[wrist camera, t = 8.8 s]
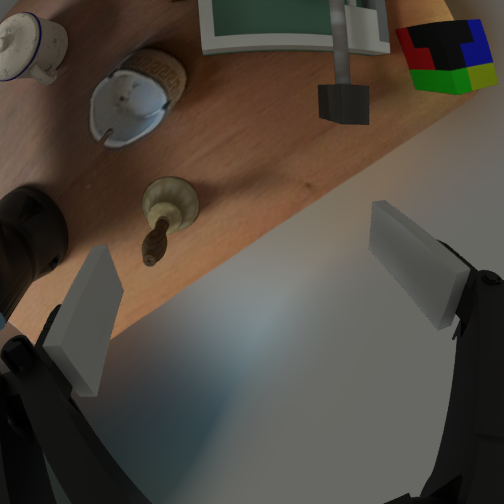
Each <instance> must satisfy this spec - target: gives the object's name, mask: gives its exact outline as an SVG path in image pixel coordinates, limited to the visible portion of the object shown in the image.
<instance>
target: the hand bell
mask: <svg viewBox="0 0 504 504" xmlns="http://www.w3.org/2000/svg"><path fill="white" fill-rule="evenodd" d="M142 208H143V212H144V215H145V217H146V218H147V220H148V221H149V224H150V226H151V227H152V229H153V230H152V231H151V232H150V233H149V234H148V235H147V236H146V237H145V239H144V241H143V244H142V256H143V262H144V264H145V265H146V266H154V265H155V263H156V262H158V261H159V260H160V259H161V258H162V257H163V256H164V254H165V251H166V248H167V237H166V234H172V233H174V232H176V231H180V230H183V229H185V228H187V227H188V226H190V225H191V224H192V223H193V222H194V220H195V219H196V217H197V215H198V211H199V199H198V196H197V193H196V191H195V190H194V189H193V187H192V186H191V185H190V184H189V183H187V182H186V181H184V180H182V179H180V178H176V177H164V178H160V179H158V180H156V181H154V182H153V183H151V184H150V185H149V186H148V188H147V189H146V191H145V193H144V195H143V199H142Z"/></svg>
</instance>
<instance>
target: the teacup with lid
mask: <svg viewBox="0 0 504 504" xmlns="http://www.w3.org/2000/svg"><path fill="white" fill-rule="evenodd" d="M67 47H68V36H67V32H66V30H65V29H64V27H63V26H61V25H60V24H58V23H55V22H52V21H49V20H46V19H43V18H39V17H36V16H35V15H34V14H32V13H29V12H22V13H18V14H15V15H13V16H11V17H9V18H8V19H6V20H5V21H4V22H3V23H2V24H1V25H0V81H10V80H13V79H19V78H35V79H36V80H37V81H38V82H40V83H41V84H44V85H50V84H52V83H53V82H54V81H55V80H56V78H57V73H56V70H55V69H56V68H57V67H58V66H59V64H60V63H61V62H62V60H63V58H64V56H65V54H66V51H67Z"/></svg>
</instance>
